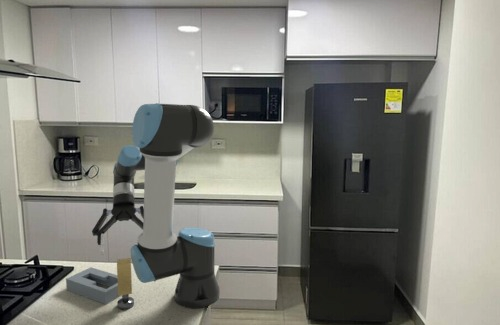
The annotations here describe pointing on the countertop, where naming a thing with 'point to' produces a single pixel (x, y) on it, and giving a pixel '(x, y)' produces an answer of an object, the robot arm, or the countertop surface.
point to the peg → (124, 284)
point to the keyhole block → (94, 285)
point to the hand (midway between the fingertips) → (123, 251)
